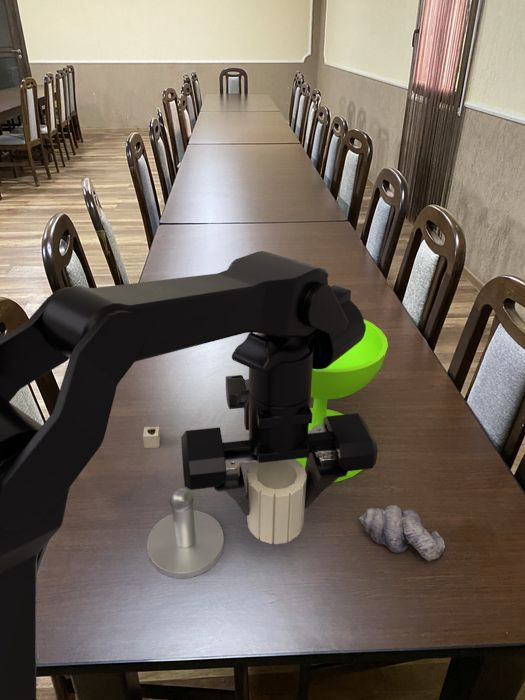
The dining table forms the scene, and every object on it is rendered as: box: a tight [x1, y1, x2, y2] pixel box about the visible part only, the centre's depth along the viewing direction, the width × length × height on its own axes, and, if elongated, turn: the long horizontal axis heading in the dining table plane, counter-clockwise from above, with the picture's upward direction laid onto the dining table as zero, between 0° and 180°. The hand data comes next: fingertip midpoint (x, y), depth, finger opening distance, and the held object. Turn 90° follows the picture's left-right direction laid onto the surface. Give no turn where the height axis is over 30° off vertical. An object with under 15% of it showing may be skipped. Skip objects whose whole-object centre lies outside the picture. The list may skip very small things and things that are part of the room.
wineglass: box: [296, 318, 389, 483], centre depth 75 cm, size 16×16×18 cm
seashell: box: [359, 504, 446, 562], centre depth 63 cm, size 5×5×10 cm
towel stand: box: [146, 487, 225, 579], centre depth 61 cm, size 9×9×9 cm
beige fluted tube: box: [246, 459, 307, 545], centre depth 57 cm, size 6×6×7 cm
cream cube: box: [142, 426, 161, 449], centre depth 78 cm, size 2×2×2 cm
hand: (275, 508), depth 57 cm, fingers closed on beige fluted tube, 6 cm apart
